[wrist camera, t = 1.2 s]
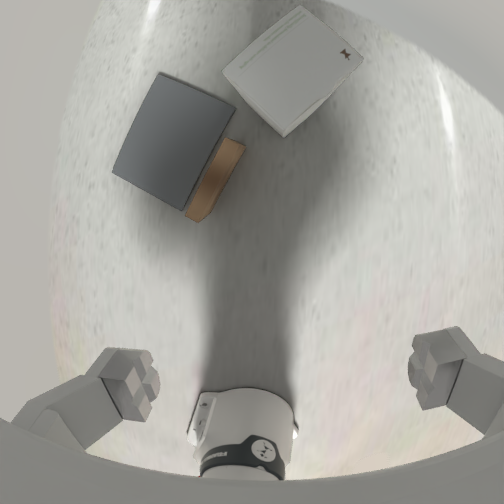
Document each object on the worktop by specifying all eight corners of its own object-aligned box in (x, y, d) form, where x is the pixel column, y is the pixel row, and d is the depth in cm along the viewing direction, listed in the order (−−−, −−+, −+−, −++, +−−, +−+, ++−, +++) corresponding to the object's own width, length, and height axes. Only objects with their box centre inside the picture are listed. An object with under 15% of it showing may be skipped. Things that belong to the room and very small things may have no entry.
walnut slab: (210, 212, 37) (198, 223, 31) (198, 205, 37) (183, 215, 31) (246, 146, 34) (239, 144, 28) (233, 140, 34) (224, 136, 28)
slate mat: (182, 210, 37) (181, 210, 37) (113, 172, 36) (111, 172, 36) (235, 108, 33) (235, 107, 32) (159, 74, 32) (158, 74, 32)
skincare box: (294, 59, 30) (301, -3, 15) (334, 97, 31) (371, 58, 16) (243, 104, 33) (215, 68, 18) (283, 143, 34) (285, 132, 19)
